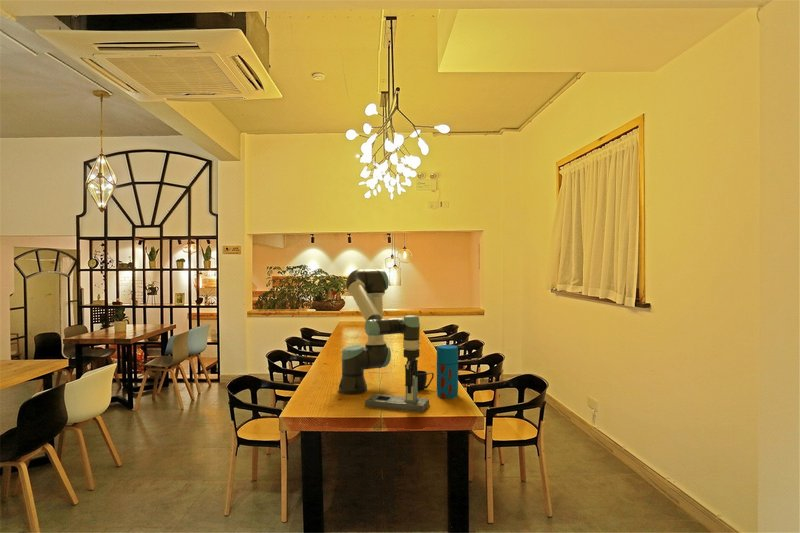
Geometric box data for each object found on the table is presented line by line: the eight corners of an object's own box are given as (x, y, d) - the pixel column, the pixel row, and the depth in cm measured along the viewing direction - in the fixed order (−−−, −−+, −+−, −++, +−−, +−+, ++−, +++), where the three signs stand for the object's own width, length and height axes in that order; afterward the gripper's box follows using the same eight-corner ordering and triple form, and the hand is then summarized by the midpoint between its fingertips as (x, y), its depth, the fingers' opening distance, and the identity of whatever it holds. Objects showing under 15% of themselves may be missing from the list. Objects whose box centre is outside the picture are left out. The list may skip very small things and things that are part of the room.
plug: (405, 408, 210) (405, 376, 210) (408, 405, 215) (408, 374, 215) (414, 409, 209) (414, 377, 209) (417, 406, 213) (417, 375, 213)
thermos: (444, 391, 239) (444, 344, 239) (462, 395, 232) (461, 346, 232) (432, 396, 230) (432, 347, 230) (450, 400, 223) (450, 349, 223)
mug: (435, 391, 239) (435, 373, 239) (412, 392, 238) (412, 374, 238) (432, 387, 247) (432, 370, 247) (410, 388, 246) (410, 370, 246)
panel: (365, 406, 213) (365, 399, 213) (374, 399, 224) (374, 393, 224) (422, 412, 204) (422, 405, 204) (429, 404, 215) (429, 398, 215)
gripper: (413, 352, 202) (414, 404, 202) (424, 346, 219) (424, 394, 219) (398, 351, 205) (398, 403, 205) (409, 345, 221) (409, 392, 221)
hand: (411, 398), depth 212 cm, fingers closed on plug, 4 cm apart
